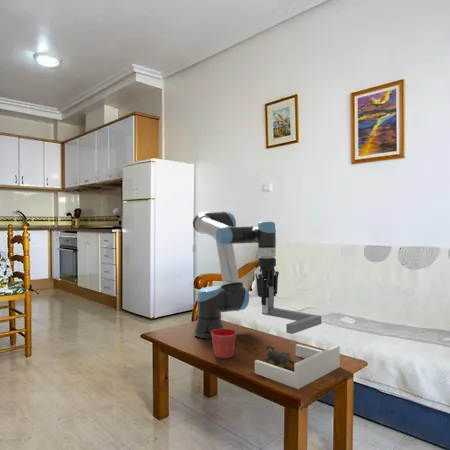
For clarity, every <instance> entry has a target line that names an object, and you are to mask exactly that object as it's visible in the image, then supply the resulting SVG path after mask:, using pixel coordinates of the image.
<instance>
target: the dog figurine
mask: <svg viewBox="0 0 450 450" xmlns="http://www.w3.org/2000/svg"><path fill="white" fill-rule="evenodd" d="M264 360H265V361H264V362H265V363H268V364H269V362H271V361H272V362H273V363H274V364H276V366H277V367H280V368H284V367H285V365H288V364H289V363H290V364H291V365H292V366H294V364H295V363H296V362H295V361H293V360H292V356H291V355H290V354H289V353H288V352H277V351H275V350H274V347H273V346H271V345H266V356H265V359H264ZM284 369H285V368H284Z"/></svg>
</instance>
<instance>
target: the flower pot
mask: <svg viewBox="0 0 450 450" xmlns="http://www.w3.org/2000/svg"><path fill="white" fill-rule="evenodd" d="M211 336H212V339H211V341H212V349H213V353H214V356H215V357H216V358H219V359H227V358H231V357H233V355H234V351H235V345H236V341H237V340H236V339H237V331H236V330H234V329H232V328H224V329H216V330H213V331H212V332H211Z"/></svg>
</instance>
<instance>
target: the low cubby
mask: <svg viewBox="0 0 450 450" xmlns="http://www.w3.org/2000/svg"><path fill="white" fill-rule="evenodd" d="M340 349H341V347H340V345H337V344H335V345H332V346H331V347H329V348H327V349H324V350H321V349H318V348H314V347H310V346H307V345H304V344H303V345H302V344H300V343H299V344H295V357H299V358H301V359H302V358H303V359H302V360H300V361H297V362H294V363H295V364H294V365H293V366H294V367H293V368H294V369H293V371H292V370H289V369H286V368H280V367H278V365H274V364H271V363H269V362H268V363H266V361H262V360H259V359H256V360H254V374H256V375H258V376H262V377H264V378H267V379H269V380H272V381H275V382H278V383H279V384H282V385H285V386H288V387H291V388H294V389H297V390H300V389H301V388H303V387H305V386H307V385H308V384H310V383H313V382H315V381H316V380H318V379H320V378H322V377H324V376H326V375H327V374H330V373H332V372H333V371H336V370H337V369H339V368H340V363H341V362H340V361H341V359H340V358H341V356H340V352H341V351H340Z"/></svg>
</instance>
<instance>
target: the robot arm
mask: <svg viewBox="0 0 450 450" xmlns="http://www.w3.org/2000/svg"><path fill="white" fill-rule="evenodd" d="M192 227H193V229H194V230H195V231H196V232H197V233H199V234H202V235H204V234H205V235H208V236H211V237H212V238H213V239H214V240H215V243H216V248H217V254H218V255H217V256H218V261H219V266H220V267H219V268H220V274H221V278H222V279H221V280H222V283H221V285H220V286H219V285H213V286H212V285H211V286H206V287H202V288H200V289H199V290H198V291H197V297H196V298H197V299H196V301H197V320H196V324H195V328H194V331H193V332H194V333H193V336H194V335H195V336H197V337H200V338H199V339H201V338H206V339H205V340H212V339H211V338H212V336H211V332H212V331H213V330H216V329H225V328H224V324H223V320H222V313H228V312H235V311H236V312H238V311H242V310H243V311H244V310H245V309H246V308H247V307H248V305H249V303H250V291H249V289H248V287H247V286H244V283H243V282H242V281H241V280H240V277H239V273H238V266H237V262H236V255H235V250H234V245H233V244H237V245H238V244H257V247H258V249H257V256H258V261H257V263H258V267H259V272H258V273H255V274H254V276H255V279H256V289H257V291H256V292H257V297H259V298H261V301H260V302H261V304H260V305H261V313H262V312H263V313H268V298H267V286H273V289H274V297H277V294H278V285H279V284H278V282H279V280H278V279H279V274H280V271H276V269H275V267H276V266H277V259H276V256H277V251H276V246H277V245H276V244H277V242H276V241H277V239H276V238H277V237H276V235H277V234H276V232H277V230H276V223H275V222H274V221H259V222H258V224H257V226H251V225H250V226H237V222H236V218H235V216H234V214H233V213H231V212H228V211H202V212H200V213H198V214H197V215H195V217H194V218H193V219H192ZM195 336H194V337H195ZM197 337H196V338H197Z"/></svg>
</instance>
